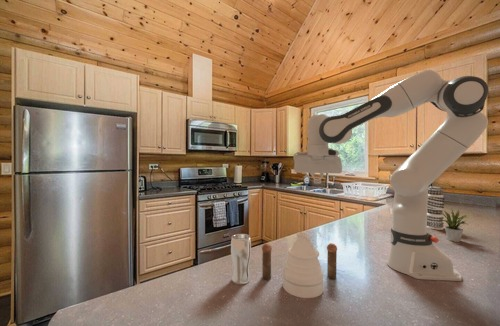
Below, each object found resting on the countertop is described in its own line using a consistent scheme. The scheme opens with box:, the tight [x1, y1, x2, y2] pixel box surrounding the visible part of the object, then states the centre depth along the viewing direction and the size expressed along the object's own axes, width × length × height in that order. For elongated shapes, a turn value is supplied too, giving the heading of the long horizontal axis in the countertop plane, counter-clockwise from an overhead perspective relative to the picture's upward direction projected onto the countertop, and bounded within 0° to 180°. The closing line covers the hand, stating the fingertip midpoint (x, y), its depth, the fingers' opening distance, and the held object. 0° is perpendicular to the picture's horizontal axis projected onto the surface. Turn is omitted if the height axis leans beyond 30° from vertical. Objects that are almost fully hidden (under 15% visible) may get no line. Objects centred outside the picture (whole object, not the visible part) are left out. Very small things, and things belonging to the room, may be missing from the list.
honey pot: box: [282, 231, 324, 299], centre depth 77 cm, size 13×13×18 cm
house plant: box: [440, 208, 470, 243], centre depth 121 cm, size 14×14×16 cm
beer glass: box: [230, 233, 252, 285], centre depth 81 cm, size 7×7×15 cm
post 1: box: [261, 243, 272, 281], centre depth 83 cm, size 3×3×12 cm
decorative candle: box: [427, 185, 445, 231], centre depth 145 cm, size 9×9×25 cm
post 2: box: [326, 242, 338, 280], centre depth 83 cm, size 3×3×12 cm
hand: (317, 183), depth 104 cm, fingers closed
